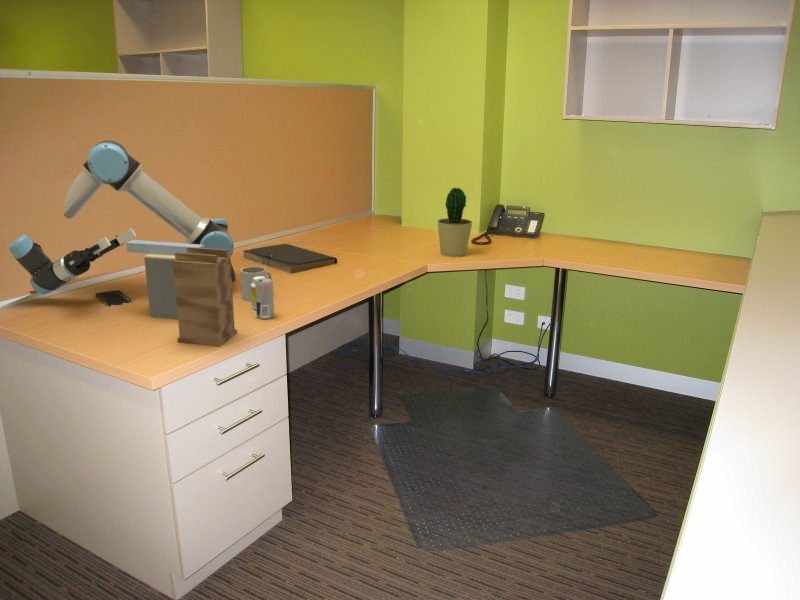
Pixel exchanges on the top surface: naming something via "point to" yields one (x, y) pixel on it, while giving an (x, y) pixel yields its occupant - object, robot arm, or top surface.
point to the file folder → (289, 258)
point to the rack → (204, 296)
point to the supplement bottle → (254, 291)
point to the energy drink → (264, 298)
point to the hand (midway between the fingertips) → (121, 236)
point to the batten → (158, 247)
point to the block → (161, 285)
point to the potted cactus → (454, 226)
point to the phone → (113, 297)
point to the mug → (251, 279)
